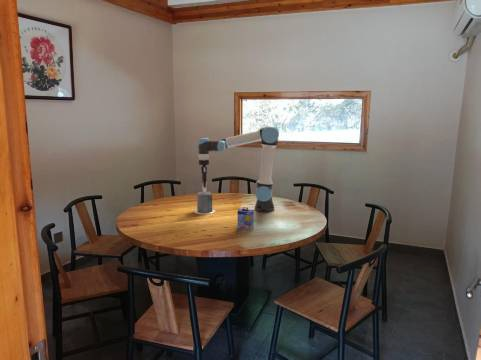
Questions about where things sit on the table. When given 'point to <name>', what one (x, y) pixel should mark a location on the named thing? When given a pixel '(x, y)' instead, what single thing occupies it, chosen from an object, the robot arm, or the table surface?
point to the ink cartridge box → (245, 219)
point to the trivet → (204, 213)
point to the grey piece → (204, 202)
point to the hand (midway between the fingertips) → (204, 190)
